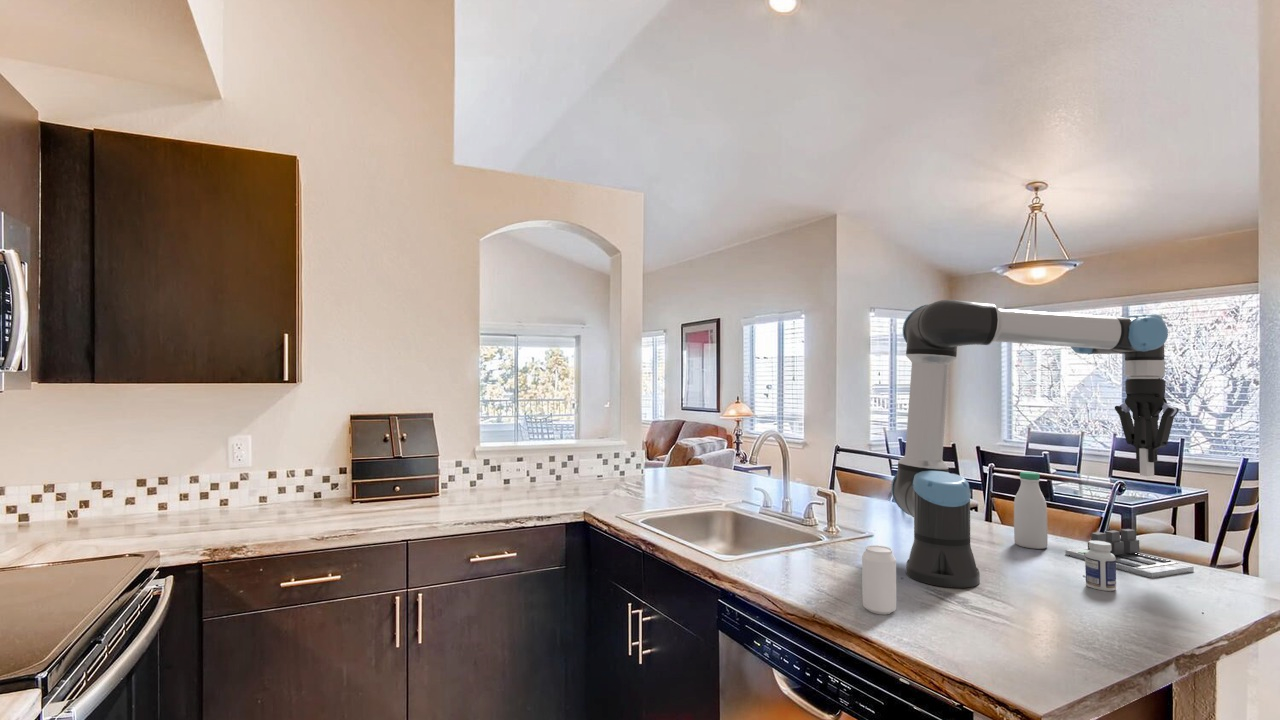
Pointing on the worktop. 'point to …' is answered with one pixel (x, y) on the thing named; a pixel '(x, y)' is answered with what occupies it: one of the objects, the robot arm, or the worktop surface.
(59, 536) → the worktop surface
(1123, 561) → the panel
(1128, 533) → the handle right
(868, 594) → the beverage can
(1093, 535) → the handle left
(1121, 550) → the handle mid
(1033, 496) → the milk bottle
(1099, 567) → the pill bottle
